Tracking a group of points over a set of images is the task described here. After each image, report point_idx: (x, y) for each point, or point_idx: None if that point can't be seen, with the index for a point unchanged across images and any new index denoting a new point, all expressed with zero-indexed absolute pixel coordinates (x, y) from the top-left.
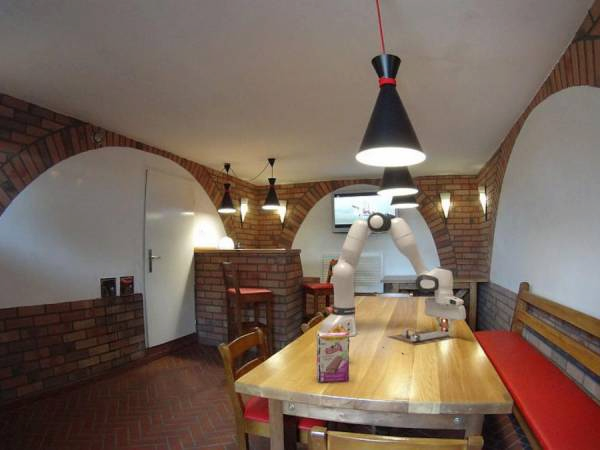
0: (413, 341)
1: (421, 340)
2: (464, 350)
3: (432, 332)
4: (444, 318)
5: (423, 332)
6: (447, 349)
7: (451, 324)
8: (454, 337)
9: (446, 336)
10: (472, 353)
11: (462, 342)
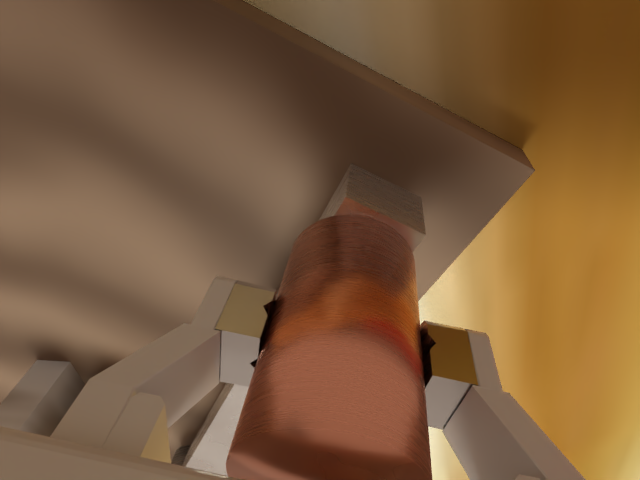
0: (181, 441)
1: (210, 408)
2: (575, 427)
3: (239, 390)
4: (299, 437)
5: (2, 104)
6: (438, 439)
7: (495, 387)
8: (494, 172)
9: (369, 171)
10: (631, 463)
11: (595, 195)
